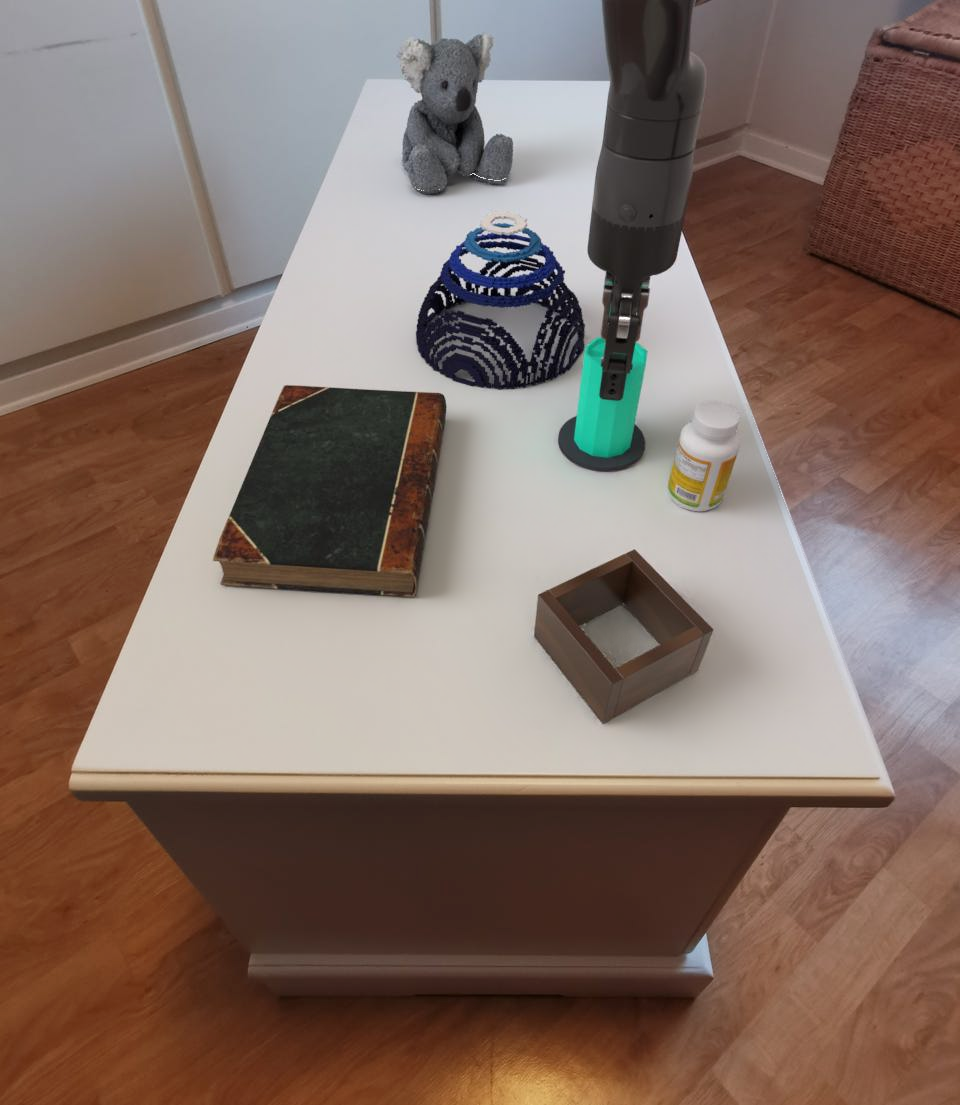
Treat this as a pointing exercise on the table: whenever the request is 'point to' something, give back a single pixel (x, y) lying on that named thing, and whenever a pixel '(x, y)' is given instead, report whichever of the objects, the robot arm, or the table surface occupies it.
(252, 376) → the table surface
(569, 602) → the square wooden box
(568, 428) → the coaster
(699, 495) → the supplement bottle
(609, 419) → the candle
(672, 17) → the robot arm
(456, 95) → the koala plush
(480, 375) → the decorative bowl
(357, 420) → the book
